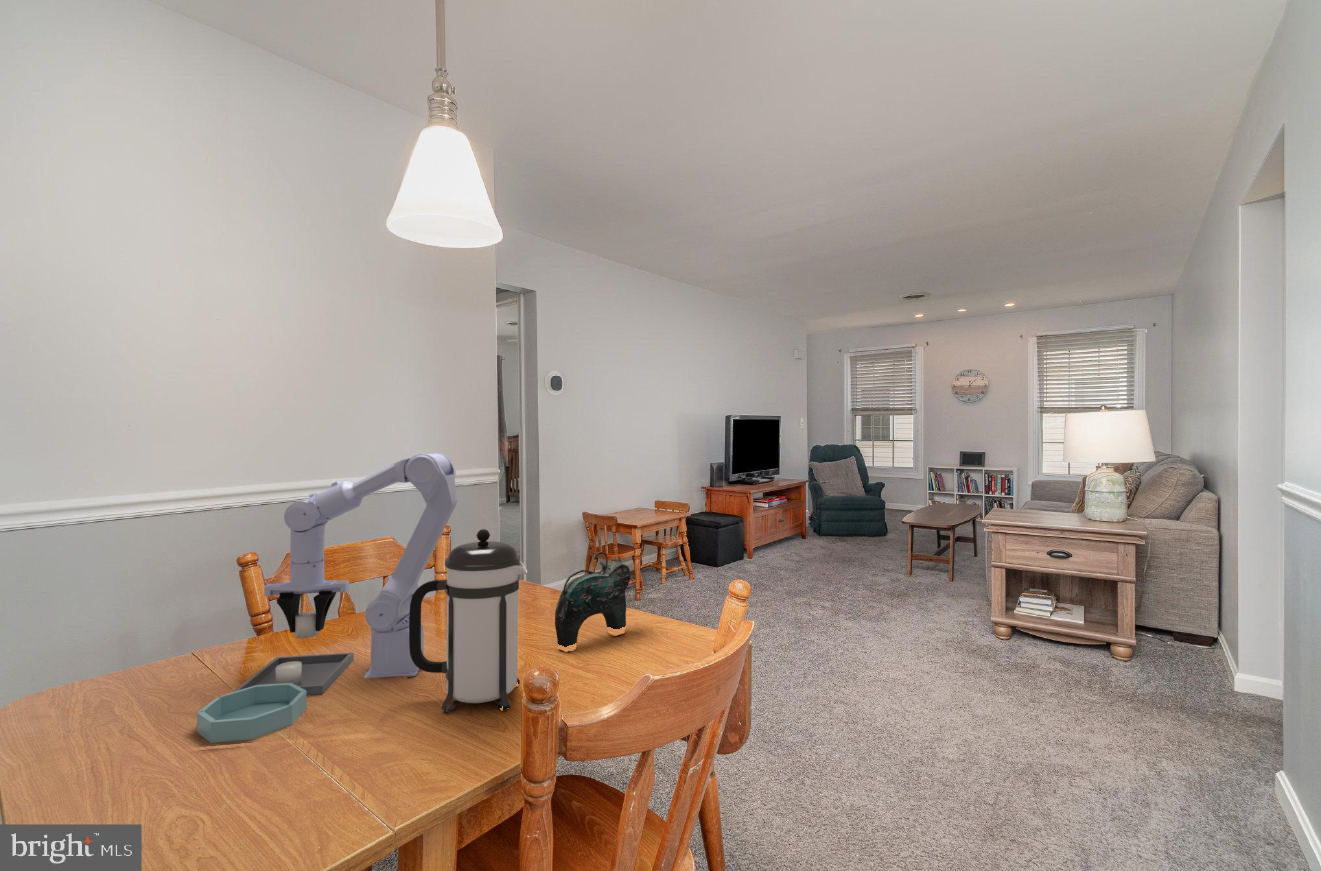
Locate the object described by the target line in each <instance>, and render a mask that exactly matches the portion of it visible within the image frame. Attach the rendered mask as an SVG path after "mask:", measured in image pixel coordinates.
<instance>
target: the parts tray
mask: <svg viewBox="0 0 1321 871" xmlns="http://www.w3.org/2000/svg"><path fill="white" fill-rule="evenodd" d="M354 654H355V653H354V652H340V653H338V652H337V653H324V654H307V655H291V656H290V655H287V656H276V657H274V658H273V659H272V660H271V661H270V662H268V663H267V664H266V665H264V666H263V667H262V668H260V669H259V670H258V671H257V672H255V674H253V675H252V676H251V677H249V678H248V679H247V680H246V681H244V682H243V683H241V684H240V685H239V686H238V687H237V688H235V689H233V691H232V692H235V691H238V690H242V689H245V688H248V687H252V686H255V685H266V684H276V666H278V665H280V664H282V663H286V662H291V661H299V662H301V663H302V685H301V686H298V687H300V688H302V689H304V690H306V691H307V696H320V695H323V694H324V693H326V691H327V690H328V689H329V688H330V687H331V686H332V685H333V684H334V682H335V681H336V680H337V679H338V678H339V677H340V676H341V675H342V673H343V672H345V671H346V669H347V668H348V667H349V666H350V665H351V663H352V662H354V657H355V656H354Z"/></svg>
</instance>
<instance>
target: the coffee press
mask: <svg viewBox="0 0 1321 871" xmlns="http://www.w3.org/2000/svg"><path fill="white" fill-rule="evenodd" d="M475 536H476V538H477V540H478V541H475V542H468V543H463V544H461V545H458V546H456V547H454V548H453V549H452V550H451V551H450V552H449V554H448V556H447V558H446V559H444V567H445V569H446V580H439V579H434V580H429V581H426V582H425V583H423V584H421V585H420V586H418V589H417V590H416V591H415V593H414V594H413V597H412V599H411V603H410V613H409V649H410V656H411V659H412V661H413V663H414V664H415V665H416V666H417V667H418V668H419V670H421V671H423V672H427V673H433V674H434V673H435V674H445V679H446V691H447V695H446V697H445V699H444V701H443V702H442V704H441V710H442V711H443V712H445V713H446V714H450V712H451V713H452V712H453V711H454V709H455V708H456V706H458V704H460V703H466V704H481V703H488V702H492V701H494V702H495V703H496V705H497V707H498V709H499V708H502V706H503V710H505V711H507V710H508V709H507V708H509V709H511V702H510V700H509V699H510V698H509V696H508V694H510V693H511V692H512V691H513V690H514V689H515V686H516V684H517V682H518V684H519V685H520V684H521V681H520V679H519V677H518V652H519V651H518V650H519V649H518V646H519V645H518V644H519V642H518V637H519V635H518V634H519V632H518V631H519V630H518V628H519V627H518V626H519V625H518V624H519V623H518V622H519V621H518V620H519V617H518V615H519V611H518V610H519V609H518V608H519V605H518V604H519V600H518V598H519V589H520V577H519V575H527V574H528V570H527V567H526V566H525V565H524V563H523V562H522V561H521V555H519V554H518V551H517V549H516V548H515V547H514V546H513V545H511V544H509V543H506V542H502V541H492V540H491V541H488V540H489V539H490V536H491V534H490V531H488V530H487V529H485V528H483V529H482V528H481V529H480V530H478V531H477V534H476V535H475ZM438 591H445V594H446V661H434V660H433V661H432V660H429V659H428V658H426V656H425V654H424V655H423V654H422V651H421V625H422V604H423V600H424V598H425V596H426V595H427V594H429V593H431V592H438ZM452 699H453V701H452V702H451V700H452ZM450 702H451V703H450ZM449 704H450V705H449ZM506 709H507V710H506Z"/></svg>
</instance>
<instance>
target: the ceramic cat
mask: <svg viewBox="0 0 1321 871" xmlns="http://www.w3.org/2000/svg"><path fill="white" fill-rule="evenodd" d="M599 555H604V556H605V559H606V560H605V562H603V561H599V564H600V565H601V566H602V567H601V569H600V571H591V570H586V569H582V570H578V571H575V572H574V573H572V574H571V575H569V576H568V577H567V579H566V580H565V583H564V586H563V590H561V592H560V595H559V598H558V601H557V603H556V607H555V612H554V626H555V633H556V640H557V645H558V644H559V645H562V646H564V647H567V646H569V645H573V644H575V643H577V642H578V636H579V631H580V629H581V627H582V625H583V623H584V622H585V621H586V620H587V619H588V618H590V617H592V616H595V615H598V614H602V616H603V617H604V620H605V624H606V628H607V627H611V628H613V629H620V628H622V627H625V626H627V617H626V616H627V615H626V614H627V613H626V612H627V600H626V598H627V597H626V589H627V587H628V585H629V584H630V581H631V571H630V567H629V566H628V565H627V564H624V563H623V562H622V560H621V557H619V556H618V555H617V556H616V559H615V561H610V562H608V561H609V560H608V555H607V554H606V553H605V552H602V551H598V552H597V553H595V554H594V556H593V559H594V560H596V558H597V557H598V556H599ZM580 573H584V574H582V575H580V576H577V577H575V578H572V577H574V576H576V575H578V574H580ZM571 578H572V580H571ZM569 581H570V582H569Z"/></svg>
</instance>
